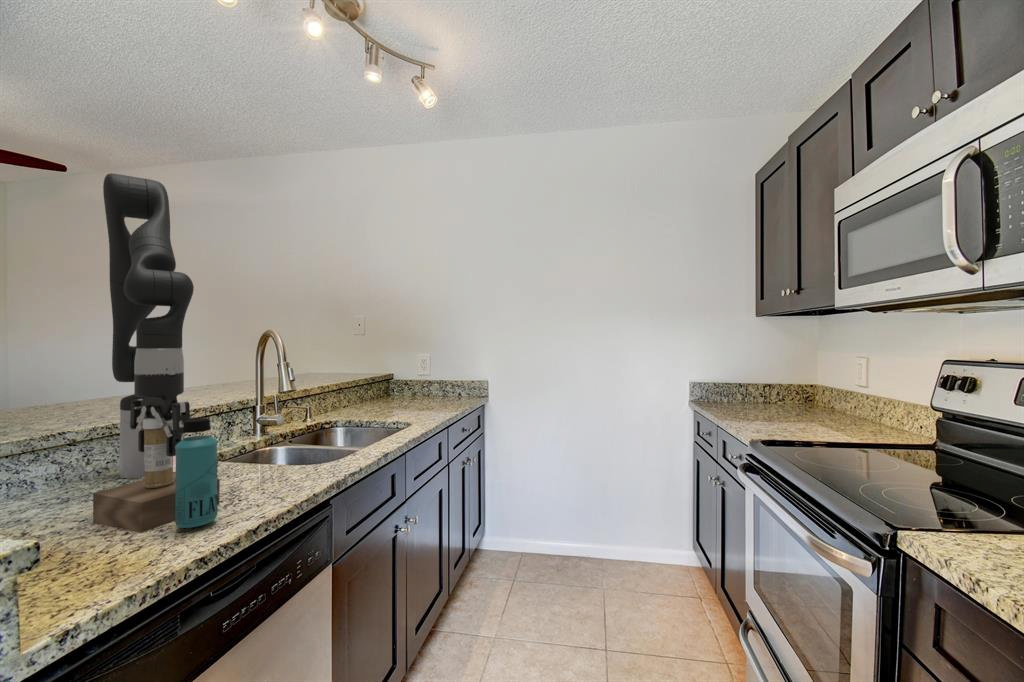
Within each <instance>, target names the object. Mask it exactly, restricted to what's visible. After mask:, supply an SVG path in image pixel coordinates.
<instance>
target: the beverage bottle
mask: <svg viewBox="0 0 1024 682" xmlns="http://www.w3.org/2000/svg"><path fill="white" fill-rule="evenodd" d="M182 422H183V424H182V427H183V430H182V432H184V434H186V433H187V434H190V433H192V434H193V433H201V432H202V433H203V432H206V431H210V430H211V429H212V427H211V426H212V425H211V420H210V418H206V417H198V418H190V419H189V420H185V421H182ZM175 449H176V492H175V521H174V524H175V526H176V527H177V528H181V529H182V528H183V529H184V528H185V529H189V528H195V527H200V526H204V525H206V524H209V523H211V522H214V521H215V520H217V517H218V510H219V507H218V505H217V504H218V499H217V487H218V485H217V479H218V478H219V477H218V472H219V468H218V467H219V461H218V455H219V453H218V440H217V439H216V438H215V437H213V436H211V435H205V434H204V435H195V436H188V437H184V438H182V439H181V441H180V442H179V443H178V444H177V445H176V446H175Z"/></svg>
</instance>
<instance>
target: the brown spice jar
mask: <svg viewBox="0 0 1024 682" xmlns="http://www.w3.org/2000/svg"><path fill="white" fill-rule="evenodd" d="M143 429H144V461H145V477H144V479H145V487H146V488H159V487H164V486H167V485H170V484H172V483H173V482H174V479H173V456H167V455H166V437H167V435H166V432H165V430H164V429H163V428H160V426H159V424H158V422H157V420H156V419H152V418H146V419H144V420H143ZM171 429H172V430H173V426H172V427H171Z"/></svg>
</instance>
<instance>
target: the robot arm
mask: <svg viewBox="0 0 1024 682" xmlns="http://www.w3.org/2000/svg"><path fill="white" fill-rule="evenodd" d="M102 188H103V189H102V190H103V193H102V194H103V201H104V211H105V219H106V226H107V234H108V235H107V236H108V243H109V244H108V246H109V247H108V249H109V251H108V252H109V293H110V302H111V313H112V354H111V355H112V357H111V369H112V370H111V371H112V374H113V375H112V376H113V378H114V379H115V381H116V382H119V383H134V387H133V388H134V392H133V394H130V395H127V396H124V397H122V398H121V400H120V403H119V439H118V444H119V445H118V450H119V451H118V456H119V457H118V474H119V477H120V479H123V478H126V480H132V478H135V479H143V478H145V461H144V429H143V420H144V419H146V418H152V419H156V420H157V422H158V424H159V426H160V428H163V429H164V430H165V432H166V435H167V437H166V455H167V456H176V449H175V446H176V445H177V444H178V443H179V442H180V441H181V440H182V436H183V435H184V434H185V433H184V432H182V430H183V424H182V422H184V421H185V420H189V419H191V415H190V414H191V412H190V411H191V410H190V408H191V407H190V406H191V405H190V402H189V401H180V402H178V398H177V397H178V396H179V395H182V394H183V393H184V390H185V388H184V387H185V363H184V362H185V358H184V354H183V353H184V352H183V327H184V322H185V317H186V313H187V311H188V308H189V305H190V303H191V300H192V298H193V294H194V291H195V290H194V287H195V286H194V282H193V281H192V279H191V278H190V277H189V276H188V275H187V274H186V273H184V272H179V271H175V270H176V267H177V266H176V265H177V264H176V262H177V261H176V258H175V254H174V249H173V246H172V241H171V217H170V215H171V213H170V212H171V211H170V202H169V193H168V192H167V188H166V187H165V186H164V184H162V183H161V182H160V181H157V180H154V179H148V178H142V177H139V176H138V177H137V176H131V175H126V174H119V173H107V174H106V175H105V177H104V179H103V187H102ZM125 218H130V219H138V220H147V221H145V222H143V223H142V224H141V225H140V226H138V227H137V228H136V229H135V230H134V231H133V232H131V233H130V231H129V229H128V227H127V225H126V221H125ZM157 306H158V307H169V310H168V312H167V313H166V314H164V315H161V316H154V317H148V316H150V315H151V314H152V312H153V311H154V310H155V309H156V307H157ZM135 332H136V333H135ZM134 334H136V337H135V339H136V344H135V346H133V345H132V346H131V345H130V342H131V339H132V337H133V335H134ZM172 426H173V427H172ZM171 427H172V429H171ZM142 477H143V478H142Z"/></svg>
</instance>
